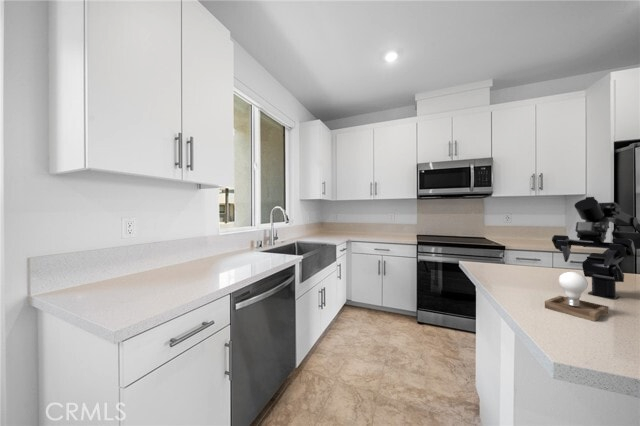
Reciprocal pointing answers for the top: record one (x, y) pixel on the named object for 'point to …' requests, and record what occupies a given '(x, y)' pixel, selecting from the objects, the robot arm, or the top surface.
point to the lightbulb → (573, 286)
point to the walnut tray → (577, 308)
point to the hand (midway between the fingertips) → (584, 263)
